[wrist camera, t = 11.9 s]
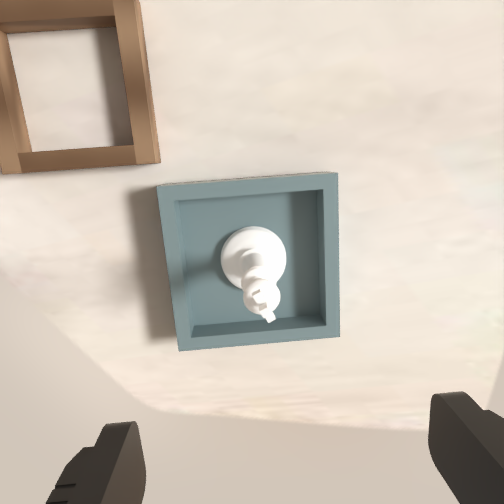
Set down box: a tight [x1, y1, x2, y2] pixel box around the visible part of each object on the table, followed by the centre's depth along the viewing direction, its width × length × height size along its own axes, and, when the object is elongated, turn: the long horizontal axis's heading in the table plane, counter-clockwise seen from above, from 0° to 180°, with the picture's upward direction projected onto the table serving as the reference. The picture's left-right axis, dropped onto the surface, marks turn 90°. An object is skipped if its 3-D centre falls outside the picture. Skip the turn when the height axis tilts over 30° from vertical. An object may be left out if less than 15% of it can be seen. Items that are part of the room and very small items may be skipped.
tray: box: [156, 172, 340, 351], centre depth 26 cm, size 12×12×3 cm
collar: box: [0, 0, 161, 174], centre depth 23 cm, size 10×10×2 cm
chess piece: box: [221, 226, 286, 323], centre depth 22 cm, size 5×5×10 cm
